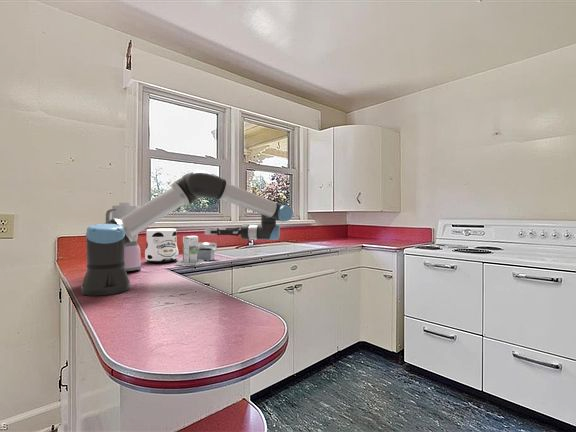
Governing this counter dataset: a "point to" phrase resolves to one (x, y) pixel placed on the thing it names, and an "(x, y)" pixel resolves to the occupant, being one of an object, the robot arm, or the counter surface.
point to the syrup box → (190, 249)
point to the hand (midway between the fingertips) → (209, 230)
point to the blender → (132, 248)
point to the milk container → (161, 245)
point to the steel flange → (190, 263)
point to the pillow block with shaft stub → (206, 251)
